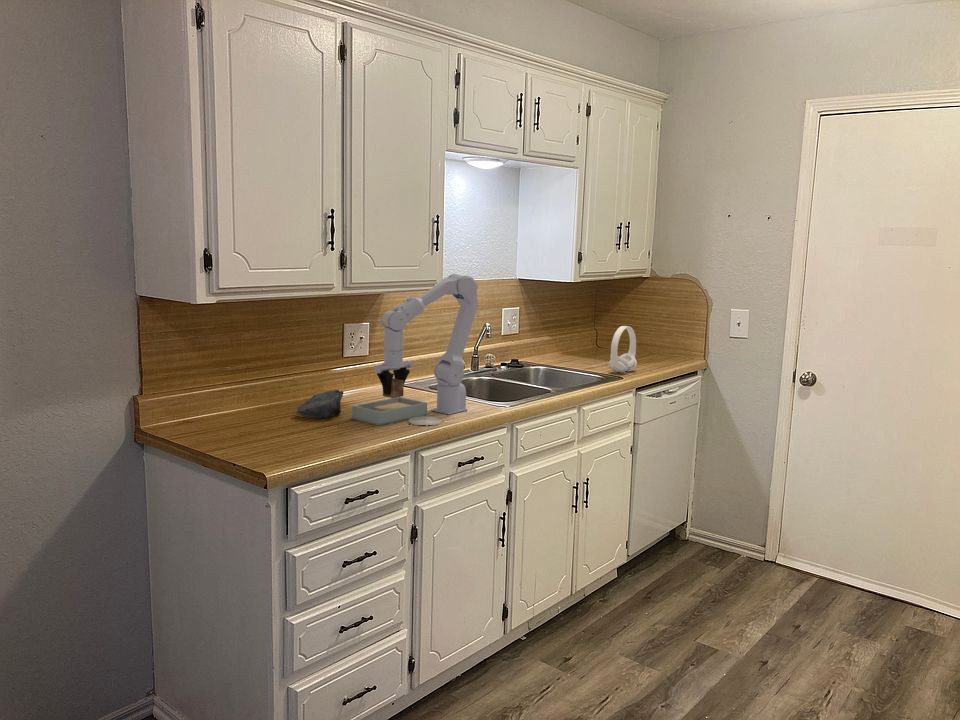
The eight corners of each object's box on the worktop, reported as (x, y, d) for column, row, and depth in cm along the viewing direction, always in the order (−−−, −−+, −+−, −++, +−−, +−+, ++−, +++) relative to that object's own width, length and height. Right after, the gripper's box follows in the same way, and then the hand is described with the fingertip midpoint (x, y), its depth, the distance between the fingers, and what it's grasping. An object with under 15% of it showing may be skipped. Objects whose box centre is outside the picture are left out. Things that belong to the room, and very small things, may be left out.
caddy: (399, 408, 253) (399, 396, 252) (426, 415, 245) (427, 402, 244) (352, 418, 237) (352, 405, 237) (380, 425, 230) (380, 412, 229)
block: (393, 393, 244) (393, 378, 243) (403, 396, 241) (403, 380, 240) (382, 396, 241) (382, 380, 240) (392, 398, 238) (393, 382, 237)
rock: (353, 419, 237) (348, 405, 246) (345, 396, 234) (340, 383, 243) (304, 436, 235) (301, 422, 244) (295, 414, 231) (292, 400, 240)
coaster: (424, 416, 243) (424, 414, 243) (448, 422, 237) (448, 420, 237) (401, 421, 235) (401, 419, 235) (425, 427, 229) (425, 425, 229)
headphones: (639, 370, 340) (642, 325, 337) (620, 376, 325) (623, 328, 322) (623, 368, 344) (626, 323, 341) (603, 373, 330) (606, 327, 326)
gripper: (401, 346, 247) (400, 388, 249) (367, 350, 235) (366, 394, 238) (417, 348, 242) (416, 391, 244) (383, 353, 231) (383, 398, 233)
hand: (393, 393), depth 241 cm, fingers closed on block, 4 cm apart
